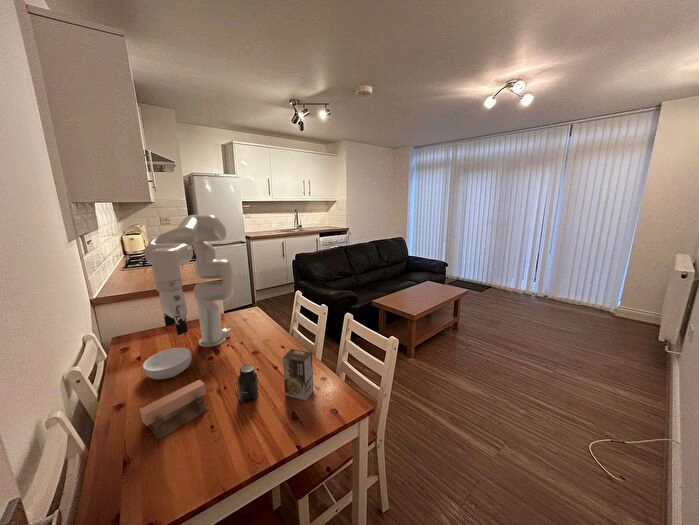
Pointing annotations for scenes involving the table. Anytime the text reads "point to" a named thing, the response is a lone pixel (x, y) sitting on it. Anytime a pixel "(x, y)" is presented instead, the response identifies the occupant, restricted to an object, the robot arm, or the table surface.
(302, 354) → the coffee box
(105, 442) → the table surface
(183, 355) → the cereal bowl
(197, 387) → the pink rectangular bar
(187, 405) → the plate with corner blocks
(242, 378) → the supplement bottle
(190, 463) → the table surface
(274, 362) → the table surface
